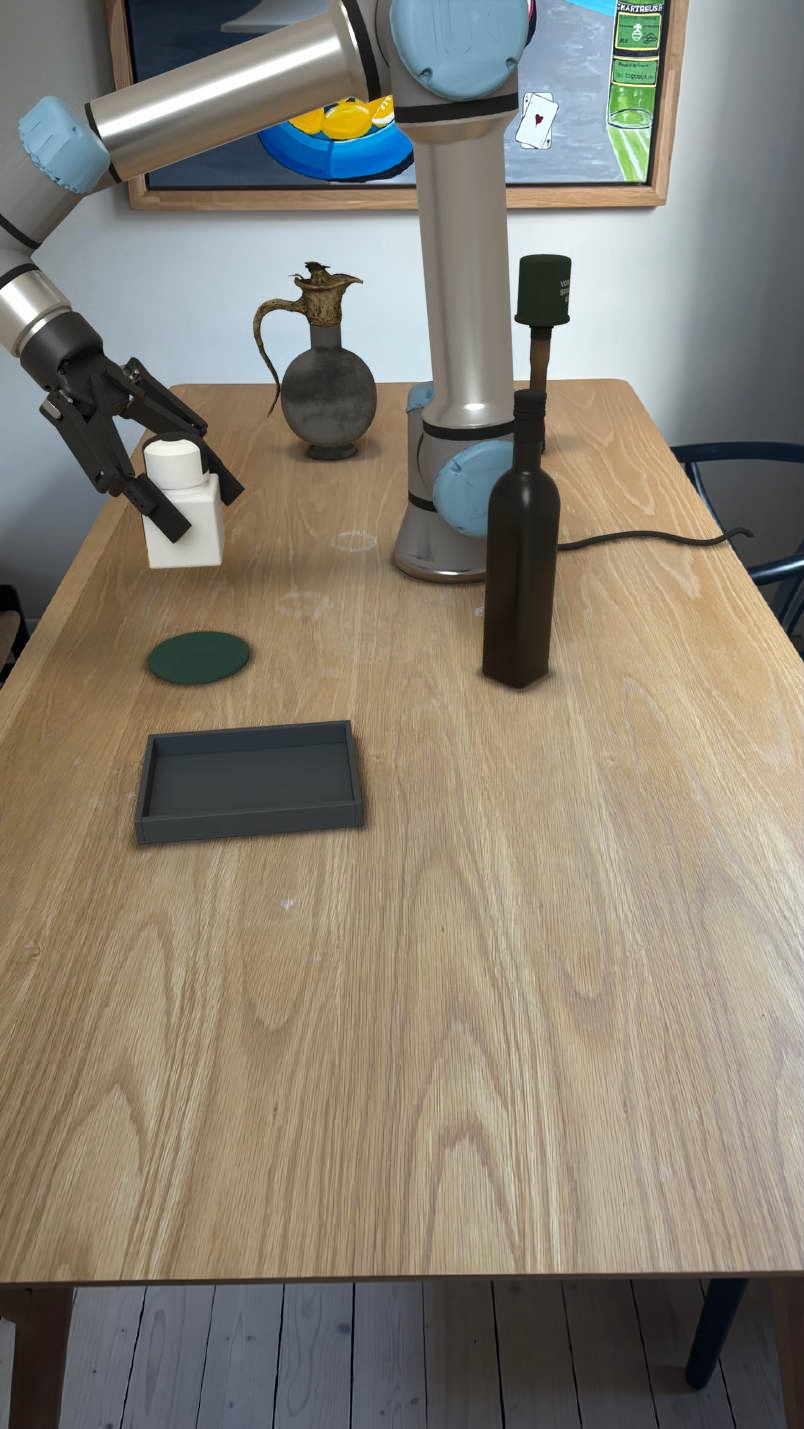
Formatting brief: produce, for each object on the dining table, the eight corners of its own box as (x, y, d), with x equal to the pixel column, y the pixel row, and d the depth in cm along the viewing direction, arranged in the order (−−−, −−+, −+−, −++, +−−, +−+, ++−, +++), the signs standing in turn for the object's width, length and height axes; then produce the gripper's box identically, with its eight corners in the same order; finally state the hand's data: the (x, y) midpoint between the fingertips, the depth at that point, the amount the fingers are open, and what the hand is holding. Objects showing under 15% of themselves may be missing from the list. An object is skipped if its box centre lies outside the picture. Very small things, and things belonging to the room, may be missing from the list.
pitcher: (381, 461, 168) (376, 264, 151) (264, 467, 166) (246, 268, 150) (375, 440, 177) (370, 252, 160) (264, 446, 175) (247, 256, 159)
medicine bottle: (156, 541, 107) (139, 427, 100) (225, 538, 107) (212, 424, 101) (148, 570, 101) (130, 451, 94) (221, 566, 102) (208, 448, 95)
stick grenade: (558, 463, 166) (572, 263, 150) (504, 460, 168) (513, 262, 151) (561, 446, 173) (576, 253, 157) (510, 443, 175) (520, 252, 158)
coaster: (249, 632, 119) (249, 628, 119) (248, 680, 110) (248, 676, 110) (153, 638, 118) (152, 634, 118) (144, 687, 109) (143, 683, 109)
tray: (351, 740, 100) (350, 719, 99) (362, 825, 89) (361, 803, 88) (151, 755, 98) (148, 734, 97) (138, 844, 87) (133, 821, 86)
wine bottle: (511, 655, 114) (526, 380, 97) (552, 673, 110) (574, 392, 94) (477, 673, 110) (486, 392, 94) (517, 693, 107) (534, 405, 91)
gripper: (98, 336, 108) (244, 499, 112) (-52, 392, 91) (126, 581, 95) (133, 286, 103) (284, 457, 107) (-19, 334, 86) (168, 536, 90)
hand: (210, 515), depth 101 cm, fingers closed on medicine bottle, 9 cm apart
